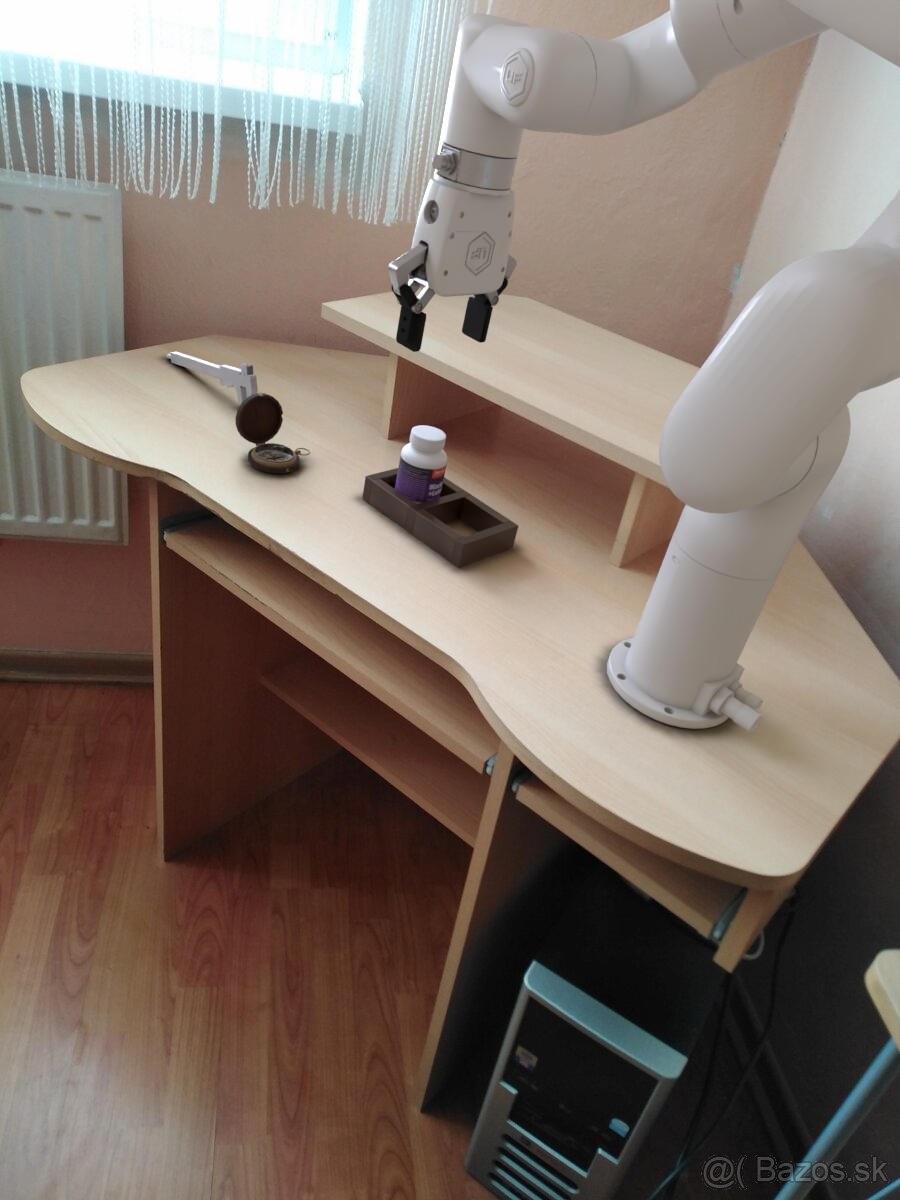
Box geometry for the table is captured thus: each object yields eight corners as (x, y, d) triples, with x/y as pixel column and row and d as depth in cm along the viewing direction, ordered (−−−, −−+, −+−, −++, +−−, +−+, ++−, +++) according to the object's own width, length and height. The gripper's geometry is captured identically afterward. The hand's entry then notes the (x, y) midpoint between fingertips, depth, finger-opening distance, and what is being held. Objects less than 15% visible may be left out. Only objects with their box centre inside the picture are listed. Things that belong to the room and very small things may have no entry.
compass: (264, 479, 104) (269, 421, 100) (231, 449, 109) (234, 393, 105) (322, 468, 109) (328, 413, 105) (288, 440, 114) (293, 386, 110)
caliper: (256, 413, 118) (259, 368, 115) (249, 415, 118) (252, 369, 114) (171, 357, 129) (172, 314, 125) (165, 358, 128) (165, 315, 124)
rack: (512, 547, 102) (518, 525, 100) (458, 568, 96) (463, 544, 95) (417, 483, 111) (421, 461, 109) (362, 498, 105) (365, 475, 103)
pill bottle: (431, 523, 103) (446, 447, 98) (386, 511, 104) (399, 435, 98) (441, 503, 108) (456, 429, 102) (398, 492, 108) (411, 417, 103)
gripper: (436, 178, 78) (404, 365, 87) (560, 182, 89) (520, 347, 98) (381, 155, 81) (356, 336, 91) (507, 161, 93) (473, 322, 102)
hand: (441, 342), depth 95 cm, fingers open, 9 cm apart
